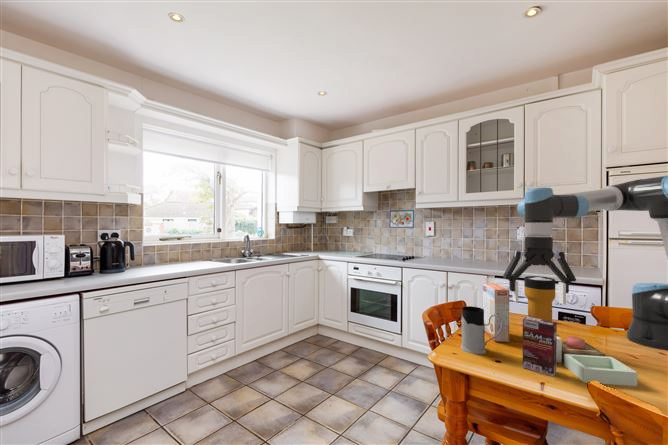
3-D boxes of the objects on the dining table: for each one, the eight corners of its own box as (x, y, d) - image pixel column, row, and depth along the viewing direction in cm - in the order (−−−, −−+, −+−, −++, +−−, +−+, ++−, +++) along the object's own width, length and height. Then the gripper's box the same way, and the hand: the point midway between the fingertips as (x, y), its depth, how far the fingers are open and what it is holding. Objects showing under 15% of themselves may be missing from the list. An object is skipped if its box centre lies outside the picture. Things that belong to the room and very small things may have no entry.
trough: (611, 369, 98) (611, 356, 98) (637, 386, 88) (637, 372, 88) (564, 366, 101) (564, 353, 101) (583, 382, 91) (583, 368, 91)
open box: (551, 354, 110) (550, 331, 110) (561, 362, 103) (561, 339, 103) (529, 352, 111) (529, 330, 111) (538, 361, 104) (538, 337, 104)
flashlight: (520, 274, 125) (547, 275, 123) (520, 338, 125) (548, 340, 123) (530, 279, 115) (560, 280, 113) (531, 348, 115) (561, 350, 113)
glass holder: (460, 343, 121) (460, 305, 121) (501, 348, 115) (501, 308, 115) (460, 351, 113) (460, 310, 113) (504, 358, 107) (504, 315, 107)
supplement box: (522, 367, 100) (521, 319, 100) (526, 363, 103) (525, 315, 103) (554, 377, 94) (553, 325, 94) (557, 371, 97) (557, 321, 97)
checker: (586, 353, 110) (586, 341, 110) (605, 366, 100) (605, 353, 100) (549, 351, 112) (548, 339, 112) (564, 363, 103) (564, 350, 103)
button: (579, 344, 108) (579, 337, 108) (588, 350, 103) (588, 342, 103) (563, 343, 109) (563, 336, 109) (571, 349, 104) (571, 341, 104)
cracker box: (510, 343, 120) (510, 289, 120) (494, 342, 121) (493, 289, 121) (497, 330, 134) (497, 282, 134) (482, 330, 135) (482, 282, 135)
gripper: (575, 236, 100) (575, 301, 100) (492, 235, 104) (492, 297, 104) (590, 237, 92) (590, 307, 92) (500, 236, 97) (500, 303, 97)
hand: (538, 302), depth 98 cm, fingers open, 13 cm apart
